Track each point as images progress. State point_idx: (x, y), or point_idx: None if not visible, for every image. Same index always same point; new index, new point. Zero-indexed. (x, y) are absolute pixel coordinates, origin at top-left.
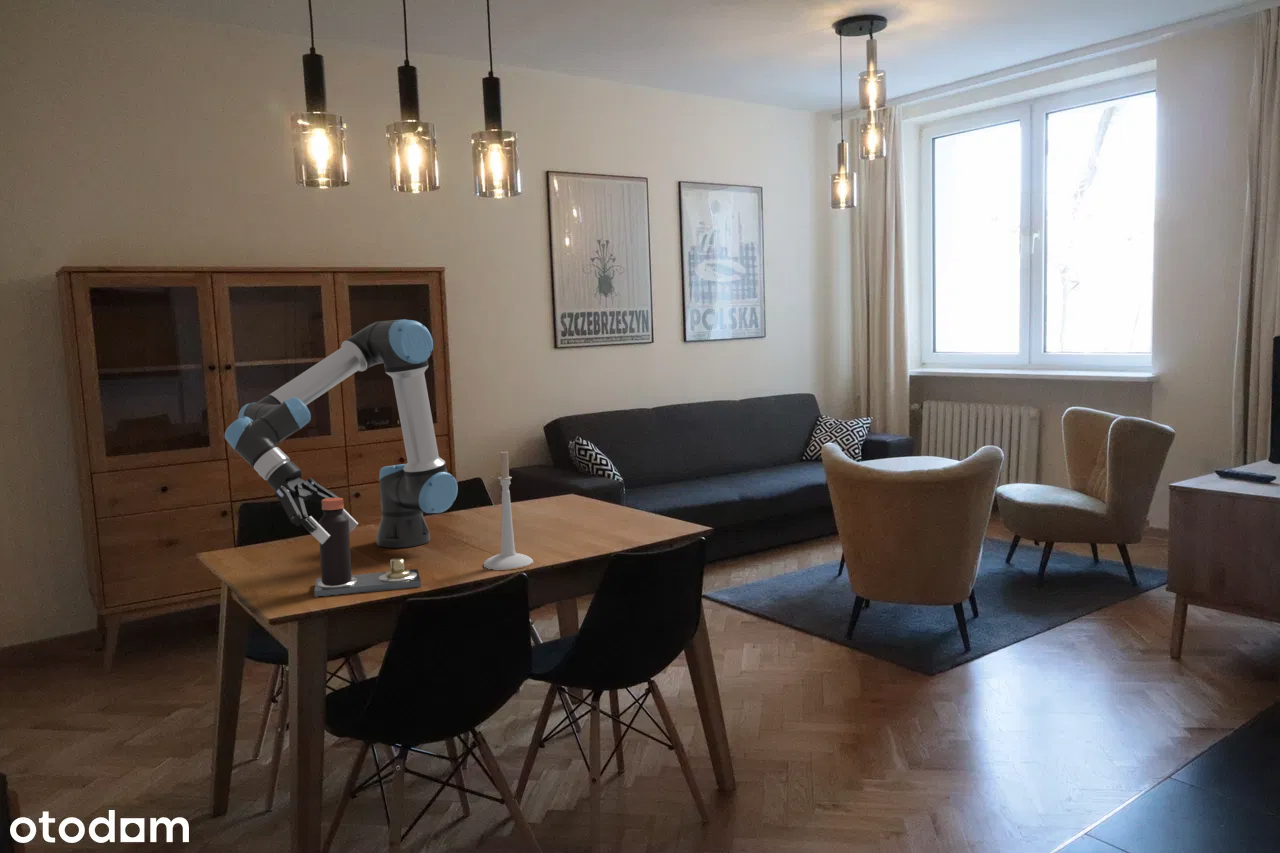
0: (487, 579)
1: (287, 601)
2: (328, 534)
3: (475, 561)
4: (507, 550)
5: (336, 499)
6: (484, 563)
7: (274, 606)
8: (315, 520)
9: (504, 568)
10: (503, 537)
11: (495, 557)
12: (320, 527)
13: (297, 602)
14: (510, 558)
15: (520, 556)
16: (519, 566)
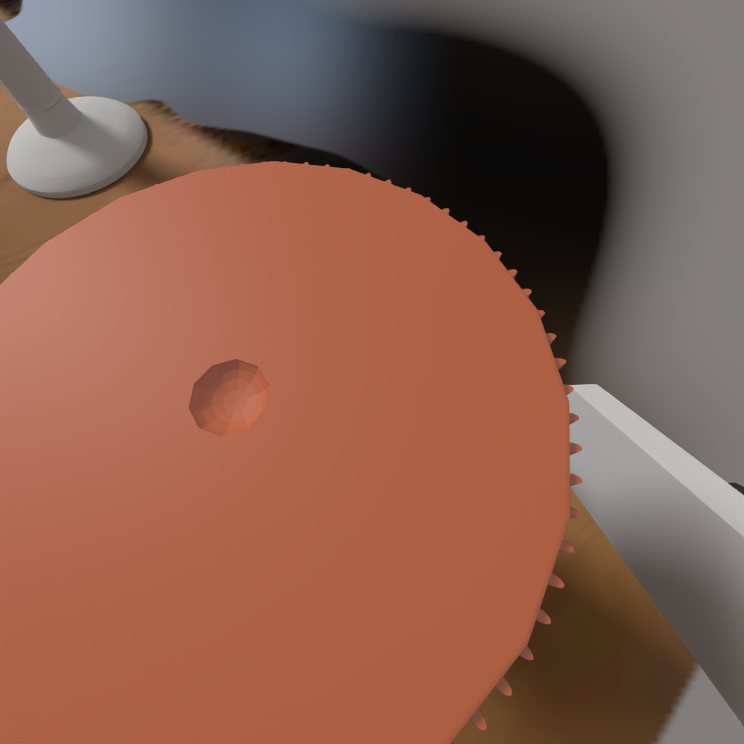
0: (234, 142)
1: (575, 631)
2: (587, 392)
3: (25, 230)
4: (65, 100)
5: (262, 265)
6: (88, 181)
7: (655, 646)
8: (729, 523)
9: (144, 132)
10: (24, 64)
11: (76, 145)
12: (667, 443)
13: (572, 571)
14: (97, 112)
15: (76, 101)
16: (132, 108)
